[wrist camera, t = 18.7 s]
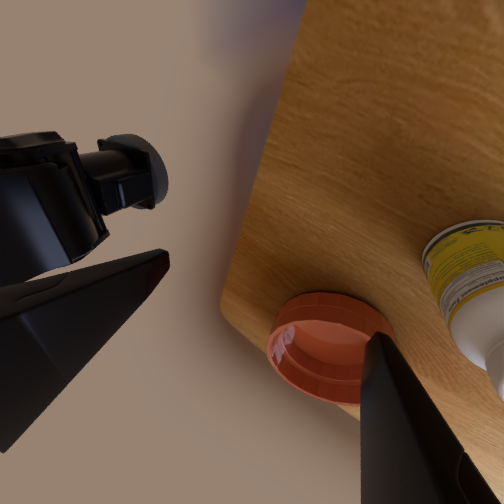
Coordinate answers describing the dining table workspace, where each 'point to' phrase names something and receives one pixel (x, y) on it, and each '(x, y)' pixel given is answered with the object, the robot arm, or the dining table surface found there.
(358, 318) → the bowl
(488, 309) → the pill bottle
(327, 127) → the dining table surface
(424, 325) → the dining table surface
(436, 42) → the dining table surface
